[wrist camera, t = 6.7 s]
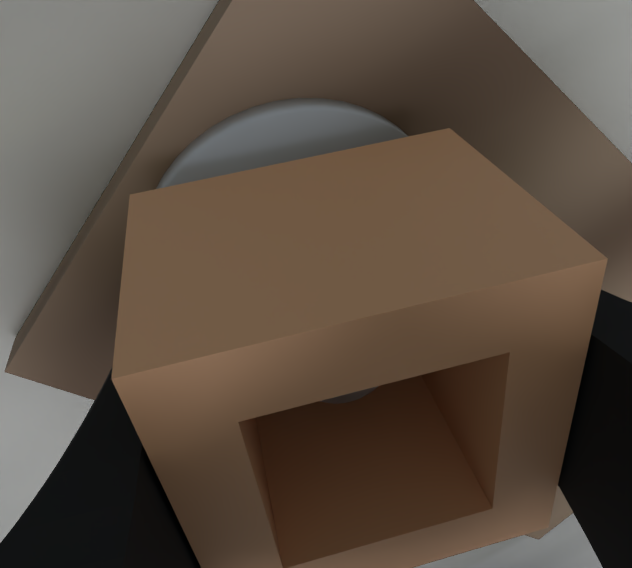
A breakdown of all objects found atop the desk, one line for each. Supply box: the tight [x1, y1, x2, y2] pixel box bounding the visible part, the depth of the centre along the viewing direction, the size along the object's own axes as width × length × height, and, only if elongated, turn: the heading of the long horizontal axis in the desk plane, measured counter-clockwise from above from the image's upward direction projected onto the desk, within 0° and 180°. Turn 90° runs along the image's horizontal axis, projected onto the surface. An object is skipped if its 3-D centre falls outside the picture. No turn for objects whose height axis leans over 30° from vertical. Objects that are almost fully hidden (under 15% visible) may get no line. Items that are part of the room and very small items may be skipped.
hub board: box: [5, 0, 632, 539], centre depth 15 cm, size 21×12×6 cm, turn 52°
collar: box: [111, 128, 608, 568], centre depth 10 cm, size 6×6×4 cm
